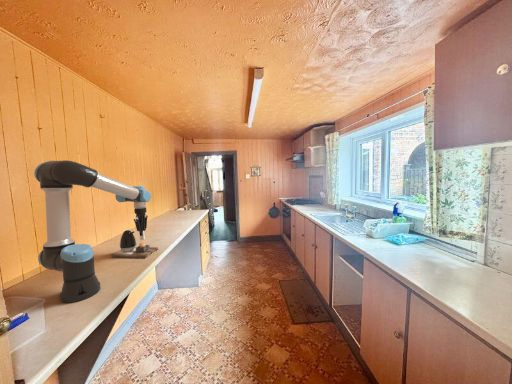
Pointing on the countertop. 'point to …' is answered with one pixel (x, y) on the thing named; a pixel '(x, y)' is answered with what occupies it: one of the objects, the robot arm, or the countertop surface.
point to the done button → (142, 245)
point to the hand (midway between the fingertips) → (142, 239)
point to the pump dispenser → (127, 241)
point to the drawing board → (136, 252)
